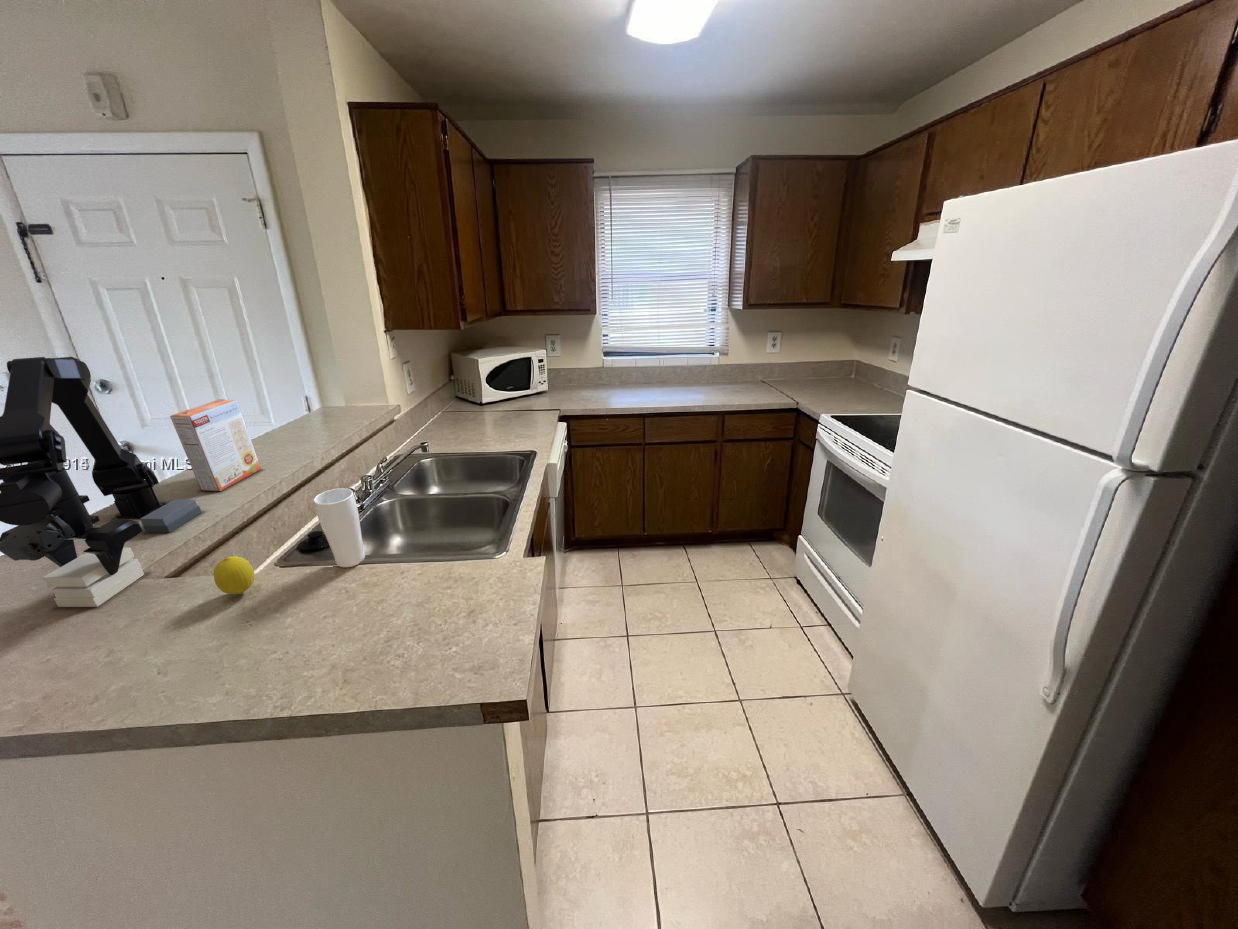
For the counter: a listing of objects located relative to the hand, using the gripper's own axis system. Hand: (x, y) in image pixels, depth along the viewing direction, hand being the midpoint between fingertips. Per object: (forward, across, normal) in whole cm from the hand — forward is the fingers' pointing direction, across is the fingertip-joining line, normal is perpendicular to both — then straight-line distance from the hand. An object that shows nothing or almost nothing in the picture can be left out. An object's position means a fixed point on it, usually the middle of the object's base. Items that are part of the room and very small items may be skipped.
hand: (94, 573), depth 86 cm
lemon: (+4, +26, -1) cm, 26 cm away
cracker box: (+4, -10, +46) cm, 47 cm away
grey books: (+4, -7, +24) cm, 25 cm away
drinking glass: (+4, +41, +9) cm, 42 cm away
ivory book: (-1, 0, 0) cm, 1 cm away
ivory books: (+4, 0, 0) cm, 4 cm away
